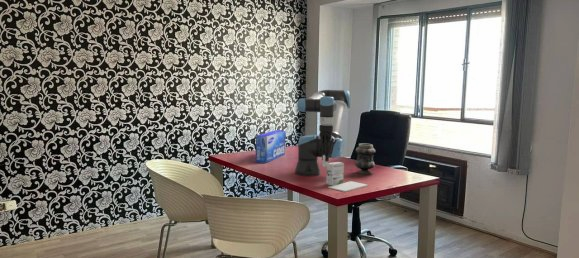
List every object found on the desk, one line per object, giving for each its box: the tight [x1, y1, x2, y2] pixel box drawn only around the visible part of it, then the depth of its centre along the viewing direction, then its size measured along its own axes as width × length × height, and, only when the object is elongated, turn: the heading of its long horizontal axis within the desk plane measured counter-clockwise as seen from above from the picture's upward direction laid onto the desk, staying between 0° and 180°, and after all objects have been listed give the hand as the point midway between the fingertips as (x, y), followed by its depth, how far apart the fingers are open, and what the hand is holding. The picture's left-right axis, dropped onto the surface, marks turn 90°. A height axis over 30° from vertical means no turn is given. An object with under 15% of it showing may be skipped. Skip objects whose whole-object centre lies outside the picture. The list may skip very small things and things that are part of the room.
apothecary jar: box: [354, 142, 376, 176], centre depth 269 cm, size 12×12×18 cm
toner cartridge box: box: [254, 129, 287, 164], centre depth 313 cm, size 39×8×18 cm, turn 161°
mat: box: [327, 180, 368, 193], centre depth 234 cm, size 11×20×1 cm, turn 136°
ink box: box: [326, 161, 345, 186], centre depth 240 cm, size 8×5×12 cm, turn 125°
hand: (324, 166), depth 245 cm, fingers closed
